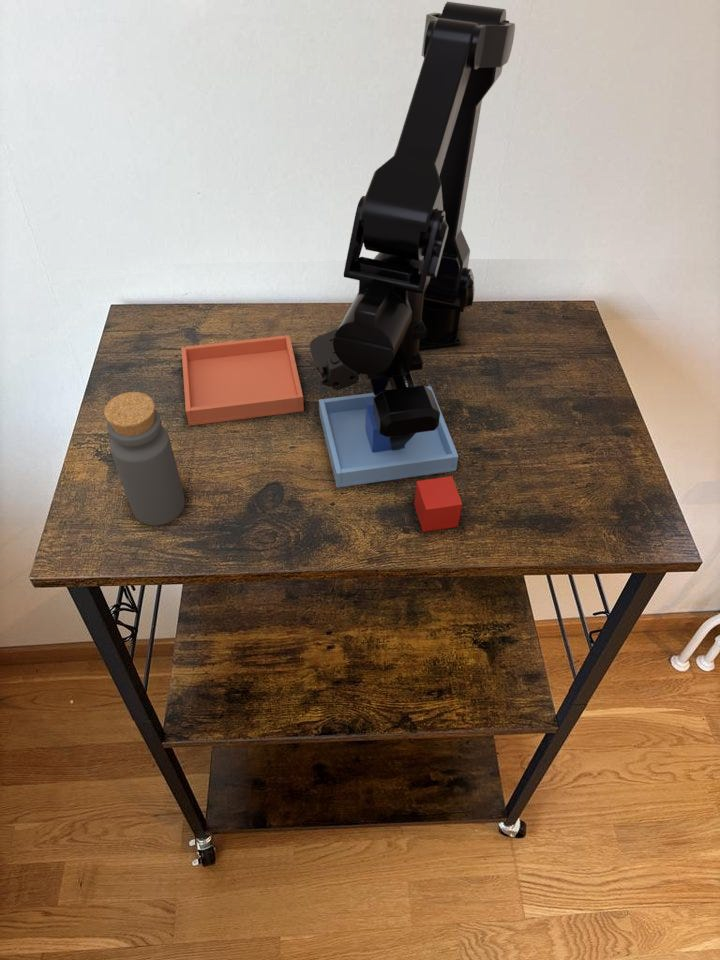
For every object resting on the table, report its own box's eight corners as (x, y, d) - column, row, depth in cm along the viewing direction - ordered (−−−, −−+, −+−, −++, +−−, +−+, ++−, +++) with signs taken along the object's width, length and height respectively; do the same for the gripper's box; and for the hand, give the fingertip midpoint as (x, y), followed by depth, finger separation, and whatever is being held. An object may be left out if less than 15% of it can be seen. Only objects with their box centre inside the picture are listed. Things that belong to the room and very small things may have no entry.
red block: (448, 498, 83) (452, 475, 80) (458, 526, 80) (462, 504, 77) (413, 504, 82) (416, 481, 79) (422, 532, 80) (426, 509, 77)
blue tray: (429, 400, 93) (431, 385, 91) (456, 470, 86) (458, 456, 84) (319, 414, 91) (318, 399, 89) (336, 487, 84) (336, 473, 82)
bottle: (174, 530, 79) (146, 434, 68) (123, 521, 80) (87, 424, 68) (193, 490, 83) (169, 392, 72) (144, 481, 84) (113, 383, 72)
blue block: (397, 424, 90) (399, 401, 87) (404, 448, 87) (407, 424, 84) (365, 429, 89) (366, 405, 86) (372, 452, 86) (373, 429, 83)
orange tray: (290, 349, 99) (289, 334, 97) (304, 411, 92) (303, 396, 90) (184, 361, 97) (181, 346, 95) (189, 426, 89) (185, 411, 88)
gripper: (301, 266, 79) (306, 376, 90) (331, 382, 67) (332, 491, 79) (401, 256, 80) (394, 366, 92) (448, 367, 68) (432, 476, 80)
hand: (386, 420), depth 86 cm, fingers open, 9 cm apart
